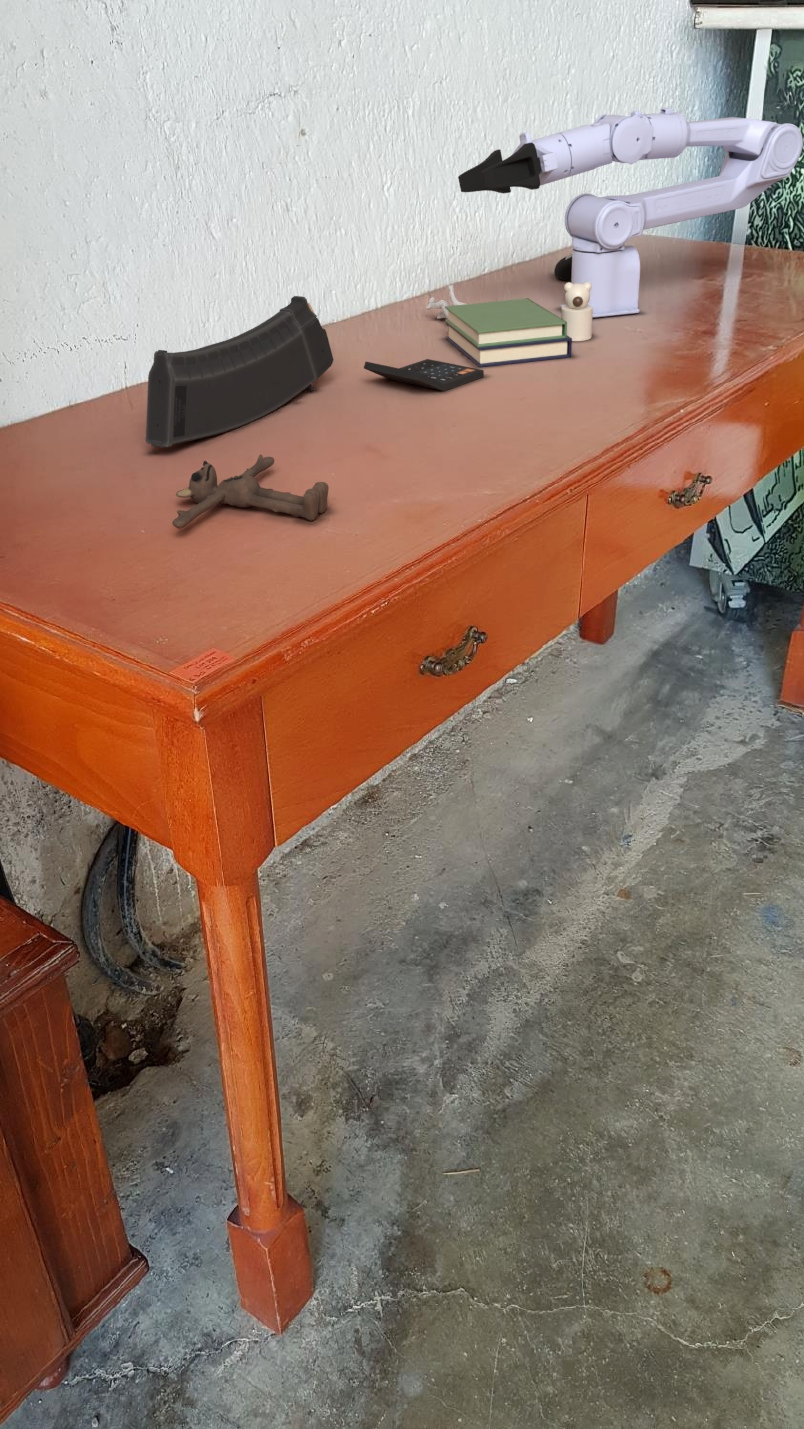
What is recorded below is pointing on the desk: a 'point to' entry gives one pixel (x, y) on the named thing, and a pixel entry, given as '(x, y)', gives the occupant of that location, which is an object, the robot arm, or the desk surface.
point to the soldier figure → (444, 303)
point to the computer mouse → (564, 268)
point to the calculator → (428, 374)
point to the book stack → (507, 332)
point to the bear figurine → (247, 494)
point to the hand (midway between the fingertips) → (471, 182)
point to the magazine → (235, 377)
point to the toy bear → (578, 311)
